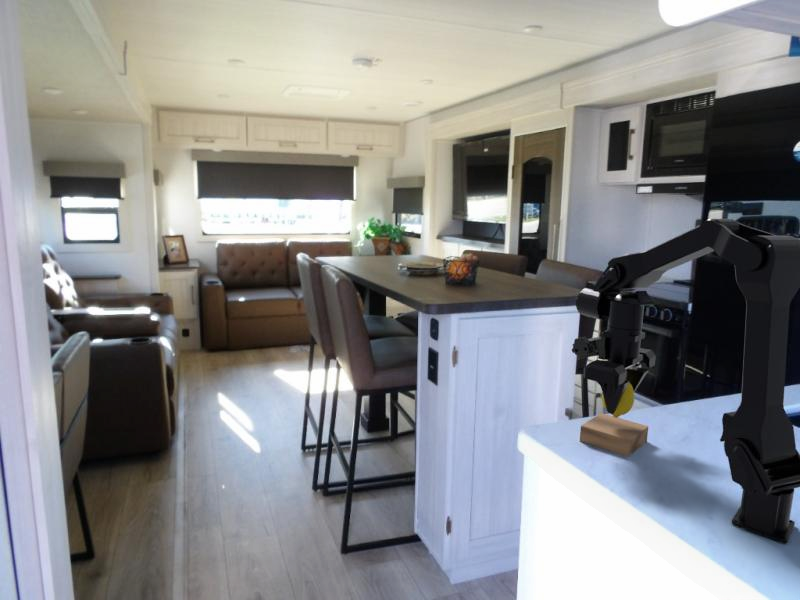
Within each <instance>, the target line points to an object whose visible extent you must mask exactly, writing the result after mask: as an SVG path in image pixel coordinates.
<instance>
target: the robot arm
mask: <svg viewBox="0 0 800 600" xmlns="http://www.w3.org/2000/svg"><path fill="white" fill-rule="evenodd" d="M713 252H715V253H716V254H717V256H718V257H720V258H721V259H723V260H724V261H727V262H728V263H730V264H732V265H733V266H734V272H735V274H734V275H735V280H736V283H737V286H738V288H739V289H740V291H741V293H742V295H743V297H744V299H745V303H746V305H745V306H746V308H745V309H746V311H745V328H744V342H743V343H744V345H743V358H742V359H743V362H742V363H743V364H742V378H741V379H742V380H741V400H740V404H739V406H738V407H737V409H736V410H735V411H730V412H724V413H723V415H722V418H721V422H722V433H721V436H720V438H719V441H720V442H721V443H722V442H723V450H724V453H725V457H727V460H728V466H729V470H730V475H731V480H732V482H734V483H735V484H738V485H739V486H740V488H741V489H742V494H741V500H740V506H739V507H738V508H737V511H736V513H735V514H734V516H733V517H732V519H731V525H732V526H735V527H738V528H740V529H742V530H746V531H749V532H752V533H754V534H758V535H760V536H764V537H766V538H769V539H772V540H774V541H777V542H778V543H779V542H780V543H783V544H788V542H789V540H790V537H791V535H792V533H793V531H794V527H795V524H796V523H795V521H794V520H792V519H791V513H792V507H793V500H794V494H795V489H797V488H800V452H799V451H798V450H797V448H796V447H797V445H796V437H795V430H794V429H795V428H794V425H793V423H792V421H791V419H790V417H789V416H788V413H787V411H786V410H785V408H784V407H785V406H784V402H785V401H784V399H785V383H786V367H787V353H788V352H787V350H788V338H789V322H790V305H791V303H792V300H793V299H794V297H795V295H796V294H797V292H798V291H799V289H800V239H799V238H797V237H795V236H792V235H776V234H774V233H770V232H768V231H764V230H760V229H758V228H754V227H751V226H748V225H745V224H743V223H741V222H738V221H736V220H735V219H733V218H709V219H707V220H704V221H703V222H702V223H700V225H697V226H695V227H693V228H691V229H689V230H687V231H684V232H683V233H681V234H679V235H677V236H674V237H673V238H670V239H669V240H665V242H662V243H660V244H658V245H656V246H654V247H652V248H650V249H649V248H648V249H647V250H644V251H639V252H633V253H626V254H622V255H618V256H615V257H612V258H611V259H610V260H609V261H608V262H607V266H606V268H605V270H604V271H603V273H602V274H601V275H600V277H599V278H598V280H597V281H594V280H593V281H586V283H585V287H583V289H581V291H580V292H579V293H578V295H577V298H576V299H575V307H576V310H577V312H578V313H579V314H581V315H582V316H585V317H588V318H593V319H595V320H600V321H603V322H607V329H606V330H603V331H602V332H601V335H600V336H598V337H591V338H588V337H587V336H582V337H577V338H574V342H573V343H572V348H571V353H573V354H574V355H575V356H576V357H577V360H584V359H585V358H591V357H597V359H596V360H594V361H592V362H589V363H587V364H586V365H585V366H584V367H583V373H582V375H583V376H582V378H583V379H585V380H588V381H592V382H596V383H597V384H598V385H599V386H600V389H601V393H602V392H603V396H604V401H605V405H606V409H607V410H606V409H605V410H606V412H607V414H610V415H612V414H614V413H615V411H616V409H617V407H618V405H619V403H620V401H621V398H622V396H623V394H624V392H625V390H626V388H627V386H628V384H629V382H630V384H631V385H632V387H633V391H634V393H635V392H636V391H637V389H638V388H639V386H640V384H641V383H642V381H643V380H644V379H645V377H646V375H647V374H648V372H649V370H650V369H651V368H652V367H655V365H656V357H657V355H656V354H655V353H654V351H653V350H652V349H649V348H648V349H647V348H642V347H641V341H642V340H643V339H645V338H646V332H645V331H644V332H643V331H642V330H643V329H642V328H643V320H644V311H645V306H654V305H655V304H656V303H655V302H656V301H655V300H654V299H653V297H651V296H650V295H649V293H648V292H647V290H642V289H646V288H649V287H650V286H651V285H653V284H655V283H656V282H657V281H659V280H660V279H661V278H662V276H663V275H664V273H666V272H668V271H670V270H672V269H674V268H677V267H679V266H681V265H683V264H686V263H689V262H691V261H694V260H696V259H698V258H700V257H704V256H705V255H707V254H711V253H713ZM638 289H639V290H638ZM640 289H641V290H640ZM636 290H637V291H636ZM642 364H645V366H646V367H647V368H650V369H647V368H644V367H642ZM625 379H626V380H625Z"/></svg>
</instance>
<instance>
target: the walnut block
mask: <svg viewBox="0 0 800 600" xmlns="http://www.w3.org/2000/svg"><path fill="white" fill-rule="evenodd" d="M579 432H580V434H579V442H582V443H585V444H587V445H591V446H594V447H597V448H600V449H602V450H606V451H610V452H612V453H616V454H620V455H622V456H625V457H630V456H631V455H632V454H634V453H635V452H636V451H637V450H638V449H640V448H641V447H642V446H643V445H645V444H646V443H647V441H648V434H649V433H648V432H649V425H644V424H643V423H642V424H641V423H638V422H634V421H631V420H627V419H624V418H620V417H618V418H615V417H614V416H613V415H611V414H610V415H609V414H606V413H603V412H600V413H599V414H597V415H596V416H594V417H593V418H591V419H590V420H588V421H586V422H585V423H583V424H582V425H580V431H579Z"/></svg>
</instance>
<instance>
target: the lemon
mask: <svg viewBox="0 0 800 600" xmlns="http://www.w3.org/2000/svg"><path fill="white" fill-rule="evenodd" d="M625 380H626V379H625ZM634 402H635V392H634V391H633V387H632V385H631V384H630V382H629V384H628V386H627V388H626V390H625V392H624V394H623V396H622V398H621V401H620V403H619V405H618V407H617V409H616V411H615V413H614V414H611V416H614V417H615V418H620V416H624V415H626V414H627V413H629V412H630V411H631V410H632V409H633V406H634ZM601 403H602V406H603V408H604V409H605V410H606V411H607V409H606V405H605V401H604V396H603V392H602V391H601Z"/></svg>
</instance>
